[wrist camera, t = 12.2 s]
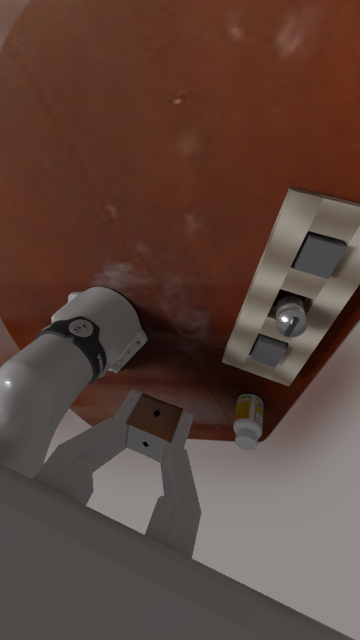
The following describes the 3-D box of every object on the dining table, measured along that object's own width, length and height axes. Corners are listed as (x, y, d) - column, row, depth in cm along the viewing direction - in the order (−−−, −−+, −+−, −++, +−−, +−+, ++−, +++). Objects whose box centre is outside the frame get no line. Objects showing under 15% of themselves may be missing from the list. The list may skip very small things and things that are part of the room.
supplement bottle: (234, 405, 55) (227, 445, 47) (241, 389, 52) (235, 430, 44) (258, 413, 54) (256, 456, 46) (267, 398, 51) (265, 441, 43)
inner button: (275, 348, 44) (275, 367, 40) (253, 340, 44) (250, 359, 40) (285, 331, 41) (286, 349, 37) (261, 323, 42) (259, 340, 38)
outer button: (322, 264, 34) (328, 279, 30) (293, 256, 35) (295, 269, 31) (338, 236, 32) (346, 247, 28) (306, 228, 33) (310, 237, 29)
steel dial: (296, 320, 36) (299, 343, 32) (272, 313, 37) (271, 334, 33) (308, 300, 34) (313, 321, 30) (282, 292, 35) (283, 312, 30)
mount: (288, 370, 46) (289, 386, 43) (225, 348, 48) (221, 362, 44) (391, 211, 29) (405, 218, 26) (289, 186, 31) (290, 190, 28)
